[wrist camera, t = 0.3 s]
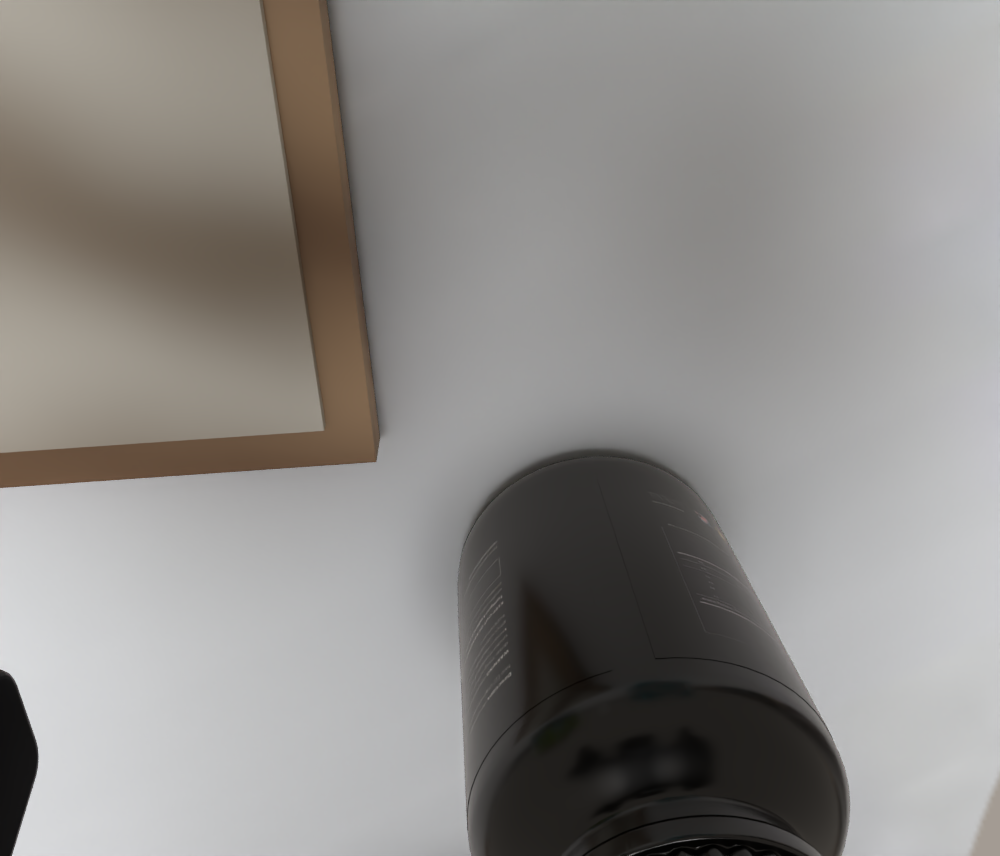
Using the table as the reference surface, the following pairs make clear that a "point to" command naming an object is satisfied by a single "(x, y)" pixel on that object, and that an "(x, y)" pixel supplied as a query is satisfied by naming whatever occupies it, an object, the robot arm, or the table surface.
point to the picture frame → (176, 243)
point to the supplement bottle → (630, 681)
